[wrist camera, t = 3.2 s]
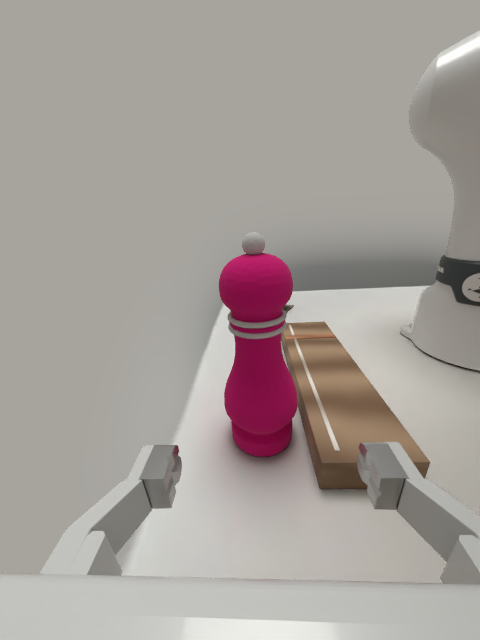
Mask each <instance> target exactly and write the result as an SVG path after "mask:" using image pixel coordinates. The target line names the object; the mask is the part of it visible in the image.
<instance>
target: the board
mask: <svg viewBox="0 0 480 640" xmlns="http://www.w3.org/2000/svg"><path fill="white" fill-rule="evenodd" d="M281 341H282V345H283V349H284V352H285V356H286V360H287V364H288V368H289V372H290V375H291V377H292V379H293V381H294V384H295V387H296V391H297V401H298V407H299V410H300V414H301V418H302V422H303V426H304V430H305V434H306V437H307V441H308V445H309V449H310V453H311V457H312V461H313V464H314V468H315V472H316V476H317V480H318V484H319V488H320V489H367V488H368V485H367V484H365V483H364V482H363V481H362V479H361V477H360V474H359V471H358V467H357V456H358V455H359V454H360V453H361V452H360V450H359V444H360V443H361V442H398V443H400V445H401V446H402V447H403V449H404V450H405V452H406V453H407V455H408V456H409V458H410V459H411V461H412V462H413V463H414V465H415V466H416V468H417V469H418V471H419V472H420V474H421V475H422V477H423V478H424V479H425V477H426V473H427V470H428V467H429V464H430V461H429V460H428V459H427V457H426V456H425V455H424V453H423V452H422V451H421V449H420V448H419V447H418V445H417V444H416V443H415V441H414V440H413V439H412V437H411V436H410V435H409V434H408V432H407V431H406V430H405V428H404V427H403V426H402V424H401V423H400V422H399V420H398V419H397V418H396V416H395V415H394V414H393V412H392V411H391V410H390V408H389V407H388V406H387V404H386V403H385V402H384V400H383V399H382V398H381V396H380V395H379V394H378V392H377V391H376V390H375V388H374V387H373V386H372V384H371V383H370V382H369V380H368V379H367V378H366V376H365V375H364V374H363V372H362V371H361V370H360V368H359V367H358V366H357V364H356V363H355V362H354V360H353V359H352V358H351V356H350V355H349V354H348V352H347V351H346V350H345V348H344V347H343V346H342V344H341V343H340V342H339V340H338V339H337V338H336V336H335V335H334V334H333V332H332V331H331V330H330V328H329V327H328V326H327V324H326V323H325V322H306V323H286V328H285V330H284V331H283V332H282V333H281Z"/></svg>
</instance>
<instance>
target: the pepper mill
mask: <svg viewBox="0 0 480 640" xmlns="http://www.w3.org/2000/svg"><path fill="white" fill-rule="evenodd" d="M242 247H243V250H244V252H245V253H246V254H244V255H241V256H239V257H236V258H234V259H233V260H231V261H230V262H229V263H228V264H227V265H226V266H225V267H224V269H223V271H222V273H221V275H220V279H219V292H220V297H221V300H222V301H223V303H224V304H225V305H226V306H227V307H228V308H229V309H230V310H231V312H230V313H229V314H228V320H229V323H230V324H229V330H230V332H231V333H233V334H234V337H235V343H236V344H235V359H234V364H233V367H232V370H231V373H230V375H229V377H228V380H227V383H226V388H225V393H224V398H225V409H226V412H227V415H228V416H229V418H230V419H231V420H232V432H233V438H234V440H235V442H236V444H237V445H238V446H239V447H240V448H241V449H242V450H243V451H245V452H246V453H248V454H251V455H254V456H261V457H268V456H272V455H275V454H277V453H279V452H281V451H283V450H284V449H285V448H286V447H287V445H288V444H289V442H290V440H291V436H292V418H293V417H294V415H295V413H296V410H297V403H298V401H297V391H296V387H295V384H294V381H293V379H292V377H291V375H290V373H289V371H288V369H287V366H286V364H285V362H284V359H283V355H282V350H281V333H282V332H283V331H284V330H285V328H286V322H285V318H286V312H285V311H284V310H283V309H282V308H283V307H284V306H285V304H286V303H287V302H288V301H289V299H290V297H291V295H292V289H293V281H292V277H291V272H290V270H289V268H288V266H287V265H286V264H285V263H284V262H283V261H282V260H281V259H279V258H277V257H276V256H273V255H270V254H265V253H262V252H263V250H264V248H265V240H264V238H263V236H262V235H261V234H259V233H257V232H252V233H248V234H247V235H246V236H245V237H244V239H243V242H242Z"/></svg>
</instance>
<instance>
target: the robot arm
mask: <svg viewBox="0 0 480 640" xmlns="http://www.w3.org/2000/svg"><path fill="white" fill-rule="evenodd" d="M409 123H410V129H411V133H412V135H413V137H414V139H415V140H416V142H417V143H418V144H419V145H420V146H422V147H423V148H424V149H426V150H428V151H430V152H431V153H432V154H434V155H435V156H436V157H437V158H438V159H439V160H440V161H441V162H442V164H443V165H444V166H445V168H446V170H447V171H448V173H449V175H450V178H451V181H452V184H453V189H454V201H455V203H454V212H453V220H452V227H451V232H450V237H449V242H448V246H447V250H446V254H445V255H444V256H442V257H441V260H440V263H439V264H438V267H437V270H438V271H437V275H436V280H437V282H436V283H435V284H434V285H432V286H430V287H428V288H426V289H425V290H423V291H422V292H421V295H420V298H419V302H418V305H417V309H416V312H415V316H414V319H413V323H410V324H408V325H405V326H403V327H402V328H401V330H400V333H401V334H403V335H404V336H406V337H408V338H410V339H411V340H412V341H413V343H414V344H415V345H416V346H417V347H418V348H419V349H421V350H422V351H424V352H425V353H427V354H429V355H431V356H433V357H435V358H438V359H440V360H443V361H445V362H448V363H451V364H454V365H458V366H461V367H465V368H469V369H473V370H478V371H480V31H478V32H476V33H474V34H472V35H470V36H469V37H467V38H465V39H463V40H461V41H460V42H458V43H456V44H454V45H453V46H451V47H449V48H447V49H446V50H444V51H442V52H441V53H439V54H438V55H437V56H436V57H435V59H434V60H433V61H432V62H431V64H430V65H429V67H428V68H427V69H426V71H425V72H424V74H423V76H422V77H421V79H420V81H419V83H418V85H417V87H416V89H415V92H414V95H413V97H412V101H411V105H410V111H409ZM359 450H360V452H361V453H360V454H359V455H358V456H357V467H358V471H359V474H360V477H361V479H362V481H363V482H364V483H365V484H367V485H368V488H367V493H368V495H369V498H370V500H371V502H372V504H373V507H374V509H387V510H397V512H398V513H399V514H400V515H401V516H402V517H403V518H404V519H405V520H406V521H407V522H408V523H409V524H410V525H411V526H412V527H413V528H414V529H415V530H416V531H417V532H418V533H419V534H420V535H421V536H422V537H423V538H424V539H425V540H426V541H427V542H428V543H429V544H430V545H431V546H432V547H433V548H434V549H435V550H436V551H437V553H438V554H439V555H440V556H441V557H442V558H443V559H444V560H445V561H446V562H447V564H446V566H445V568H444V571H443V573H442V575H441V580H442V582H443V584H441V583H400V582H360V581H320V580H280V579H239V578H198V577H156V576H121V573H122V569H121V566H120V564H119V562H118V560H117V558H116V556H115V555H116V554H117V553H118V552H119V550H120V549H121V548H122V547H123V545H124V544H125V543H126V542H127V540H128V539H129V538H130V537H131V535H132V534H133V533H134V532H135V530H136V529H137V528H138V527H139V525H140V524H141V523H142V522H143V521H144V519H145V518H146V517H147V516H148V514H149V513H150V512H151V511H152V509H159V508H172V504H173V501H174V497H175V494H176V489H175V485H176V484H177V483H178V482H179V479H180V476H181V469H182V462H181V458H180V457H179V456H178V453H179V449H178V446H177V445H145V446H144V447H143V448H142V449H141V451H140V453H139V455H138V457H137V459H136V461H135V463H134V466H133V467H132V470H131V471H130V474H129V475H128V478H127V480H122V481H121V482H120V483H119V484H118V485H117V486H116V487H115V488H113V489H112V490H111V491H110V492H109V493H108V494H107V495H105V496H104V497H103V498H102V499H101V500H100V501H99V502H97V503H96V504H95V505H94V506H93V507H91V508H90V509H89V510H88V511H87V512H86V513H85V514H84V515H82V516H81V517H80V518H79V519H78V520H77V521H75V522H74V523H73V524H72V525H71V526H70V527H69V528H67V529H66V531H65V533H64V534H63V536H62V538H61V539H60V541H59V542H58V545H57V546H56V547H55V549H54V551H53V552H52V554H51V556H50V558H49V559H48V561H47V562H46V564H45V565H44V567H43V569H42V570H41V572H40V574H31V573H0V640H480V515H478V514H477V513H475V512H474V511H473V510H471V509H470V508H468V507H467V506H465V505H464V504H463V503H461V502H460V501H458V500H457V499H456V498H454V497H453V496H451V495H450V494H449V493H447V492H446V491H444V490H443V489H442V488H440V487H439V486H437V485H436V484H434V483H433V482H432V481H430V480H429V479H424V478H423V477H422V475H421V474H420V472H419V471H418V469H417V468H416V466H415V465H414V463H413V462H412V461H411V459H410V458H409V456H408V455H407V453H406V452H405V450H404V449H403V447H402V446H401V445H400V443H398V442H361V443H360V444H359Z"/></svg>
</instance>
